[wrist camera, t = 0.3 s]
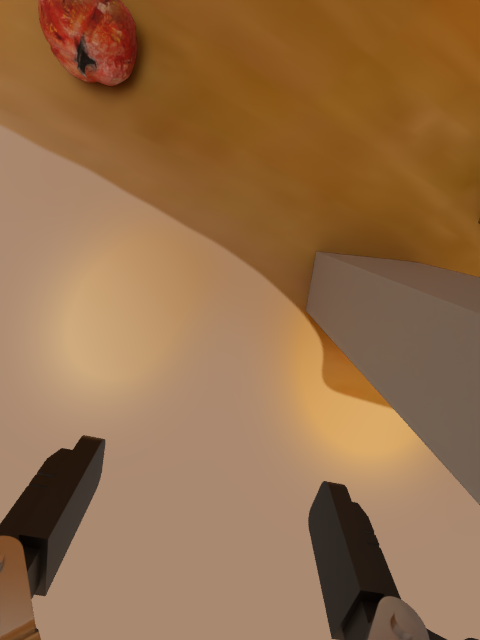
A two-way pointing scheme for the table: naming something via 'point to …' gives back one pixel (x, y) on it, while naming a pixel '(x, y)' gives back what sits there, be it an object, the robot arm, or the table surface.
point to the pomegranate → (91, 38)
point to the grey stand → (410, 346)
